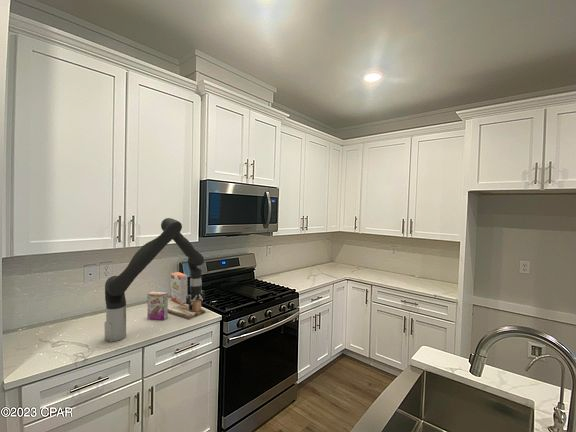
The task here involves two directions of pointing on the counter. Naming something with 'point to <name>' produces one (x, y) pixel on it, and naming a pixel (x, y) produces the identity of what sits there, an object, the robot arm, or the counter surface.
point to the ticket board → (184, 312)
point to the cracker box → (178, 287)
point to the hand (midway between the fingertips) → (195, 308)
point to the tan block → (196, 305)
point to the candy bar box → (157, 305)
